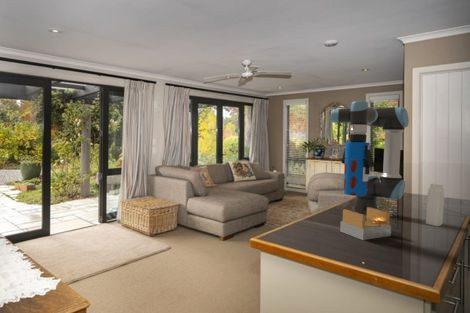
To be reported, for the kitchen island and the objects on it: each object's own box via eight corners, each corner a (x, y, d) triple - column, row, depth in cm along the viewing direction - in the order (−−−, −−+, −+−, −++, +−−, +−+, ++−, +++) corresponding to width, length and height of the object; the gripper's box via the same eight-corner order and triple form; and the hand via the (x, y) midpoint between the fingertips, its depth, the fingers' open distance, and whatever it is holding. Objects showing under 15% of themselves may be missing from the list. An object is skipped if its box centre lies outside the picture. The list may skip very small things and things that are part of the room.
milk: (437, 226, 167) (440, 185, 166) (425, 223, 172) (428, 184, 170) (442, 224, 171) (445, 184, 169) (430, 222, 176) (432, 183, 174)
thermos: (364, 196, 144) (367, 142, 142) (340, 194, 150) (343, 141, 148) (369, 193, 153) (371, 142, 151) (346, 191, 159) (348, 141, 157)
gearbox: (340, 231, 153) (341, 209, 152) (366, 227, 161) (367, 206, 160) (362, 240, 140) (364, 215, 140) (390, 235, 148) (392, 212, 147)
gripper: (335, 133, 159) (333, 176, 160) (371, 133, 137) (369, 183, 139) (346, 134, 162) (344, 176, 163) (384, 134, 140) (381, 182, 142)
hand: (355, 179), depth 151 cm, fingers closed on thermos, 11 cm apart
